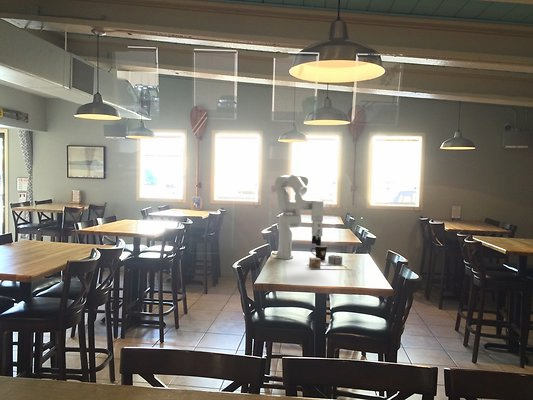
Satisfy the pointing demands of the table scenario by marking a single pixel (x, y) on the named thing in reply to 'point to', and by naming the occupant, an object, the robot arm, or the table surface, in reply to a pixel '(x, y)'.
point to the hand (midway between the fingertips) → (316, 244)
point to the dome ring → (335, 260)
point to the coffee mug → (320, 252)
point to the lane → (334, 269)
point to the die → (314, 262)
